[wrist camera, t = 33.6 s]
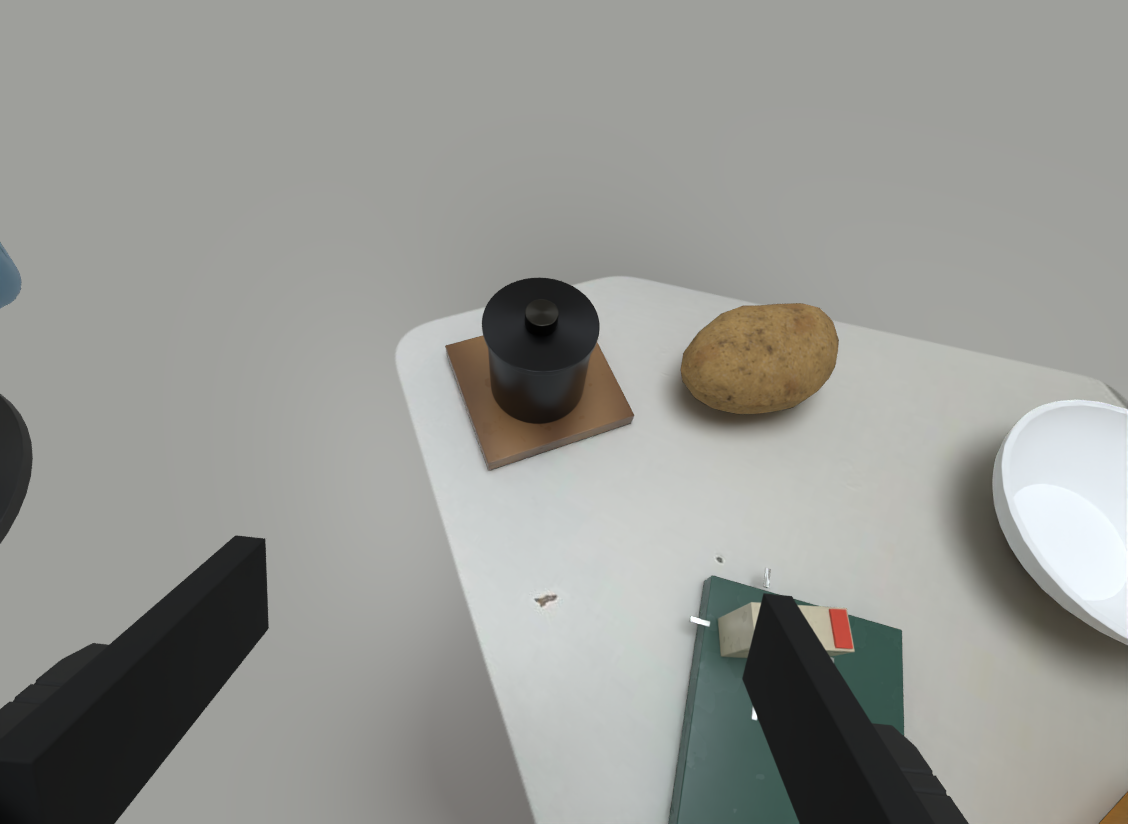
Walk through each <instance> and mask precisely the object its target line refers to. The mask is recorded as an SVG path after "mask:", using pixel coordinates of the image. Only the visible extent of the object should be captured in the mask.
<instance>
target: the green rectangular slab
mask: <svg viewBox="0 0 1128 824" xmlns="http://www.w3.org/2000/svg"><path fill="white" fill-rule="evenodd" d="M770 571H771V569H768V568H765V576H764V587H765V588H769V582H770ZM763 593H765V594H775V593H772V592H768V591H765V590H761V589H758V588H754V587H751V586H747V585H744V584H740V583H737V582H733V581H730V580H727V579H723V578H720V577H716V576H711V577H709V578H708V579H707V580H705V581H704V586H703V593H702V600H701V607H700V614H699V618H696V617H692V616H690V622H693V623H696V624H698V627H697V634H696V641H695V648H694V654H693V661H692V668H691V675H690V682H689V689H688V695H687V702H686V709H685V716H684V723H683V730H682V736H681V743H680V750H679V757H678V764H677V770H676V777H675V784H674V791H673V798H672V805H671V811H670V818H669V824H799V821H798V819H797V816H796V814H795V811H794V809H793V806H792V804H791V801H790V799H789V796H788V794H787V791H786V788H785V786H784V783H783V781H782V778H781V776H780V773H779V771H778V768H777V766H776V763H775V761H774V758H773V756H772V753H771V750H770V748H769V745H768V743H767V740H766V738H765V735H764V733H763V730H762V728H761V725H760V723H759V720H758V718H757V715H756V712H755V710H754V707H753V705H752V702H751V700H750V697H749V695H748V692H747V690H746V687H745V685H744V682H743V680H742V677H743V673H744V669H745V665H746V661H747V658H737V657H721V653H720V640H719V628H718V618H720V617H722V616H724V615H726V614H728V613H730V612H732V611H734V610H736V609H738V608H741V607H743V606H745V605H747V604H749V603H751V602H756V603H761V601H762V597H763ZM775 595H778V594H775ZM794 600H795V602H796V604H797V605H805V606H817V605H813V604H810V603H806V602H803V601H799V600H796V599H794ZM848 618H849V623H850V629H851V634H852V639H853V645H854V650H855V652H851V653H846V654H841V655H836V656H831V657H830V658H831V659H832V661H833V662H834V664H835V666H836V667H837V669H838V670H839V672H840V673H841V675H842V677H843V678H844V680H845V681H846V683H847V685H848V686H849V688H850V689H851V691H852V693H853V694H854V696H855V697H856V699H857V701H858V702H859V704H860V705H861V707H862V708H863V710H864V712H865V713H866V715H867V716H868V718H869V720H870V721H871V723H875V724H884V725H892V726H893V727H895V728H896V729H897V730H898V731H899V732H900V733H901V734H902V735H903V736H904V708H903V661H902V630H900V629H896V628H893V627H889V626H886V625H882V624H879V623H875V622H872V621H869V620H865V619H862V618H858V617H855V616H851V615H848Z"/></svg>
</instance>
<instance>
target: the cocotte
mask: <svg viewBox="0 0 1128 824" xmlns="http://www.w3.org/2000/svg"><path fill="white" fill-rule="evenodd" d="M482 331H483V336H484V340H485V342H486V345H487V346H488V354H489V367H490V380H491V390H492V394H493V396H494V399H495V401H496V402H497V404H498V405H499V406H500V408H501V409H502V410H503V411H504V412H506V413H507V414H508V415H510V416H511V417H513V418H515V419H517V420H520V421H523V422H526V423H532V424H544V423H550V422H554V421H557V420H559V419H561V418H563V417H565V416H566V415H568V414H569V413H570V412H571V411H572V410H573V409H574V408H575V407H576V406H577V404H578V403H579V401H580V399H581V397H582V393H583V389H584V384H585V379H586V374H587V369H588V364H589V360H590V355H591V353H592V351H593V350H594V348H595V346H596V343H597V340H598V336H599V319H598V315H597V312H596V310H595V308H594V306H593V304H592V303H591V302H590V300H589V299H588V298H587V297H586V296H585V295H584V294H583V293H582V292H580V291H579V290H578V289H576V288H575V287H573V286H571V285H569V284H567V283H564V282H562V281H558V280H555V279H549V278H529V279H523V280H519V281H516V282H514V283H511V284H509V285H507V286H505V287H504V288H502V289H501V290H499V291H498V292H497V293H496V294H495V295H494V296H493V297H492V298H491V299H490V301H489V302H488V304H487V306H486V308H485V310H484V313H483V318H482Z"/></svg>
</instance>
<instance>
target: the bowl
mask: <svg viewBox="0 0 1128 824" xmlns="http://www.w3.org/2000/svg"><path fill="white" fill-rule="evenodd" d="M992 486H993V499H994V506H995V510H996V513H997V517H998V521H999V524H1000V527H1001V529H1002V531H1003V533H1004V535H1005V537H1006V539H1007V542H1008V544H1009V546H1010V548H1011V549H1012V551H1013V552H1014V554H1015V555H1016V557H1017V558H1018V560H1019V561H1020V563H1021V564H1022V566H1023V567H1024V569H1025V570H1026V571H1027V572H1028V573H1029V574H1030V576H1031V577H1032V578H1033V579H1034V580H1035V581H1036V582H1037V584H1038V585H1039V586H1040V587H1041V588H1042V589H1043V590H1044V591H1045V592H1046V593H1047V594H1048V595H1050V596H1051V597H1052V598H1053V599H1054V600H1055V601H1056V602H1057V603H1059V604H1060V605H1061V606H1062V607H1063V608H1064V609H1066V610H1067V611H1069V612H1070V613H1072V614H1073V615H1075V616H1076V617H1078V618H1079V619H1081V620H1082V621H1084V622H1085V623H1087V624H1088V625H1090V626H1091V627H1093V628H1095V629H1096V630H1098V631H1099V632H1101V633H1103V634H1105V635H1107V636H1109V637H1112V638H1114V639H1116V640H1118V641H1120V642H1122V643H1124V644H1126V645H1128V409H1125V408H1121V407H1118V406H1114V405H1110V404H1107V403H1103V402H1096V401H1088V400H1062V401H1056V402H1052V403H1048V404H1045V405H1041V406H1039V407H1037V408H1035V409H1034V410H1032V411H1030V412H1029V413H1027V414H1025V415H1024V416H1023V417H1022V418H1021V419H1020V420H1019V421H1018V422H1017V423H1016V424H1015V425H1014V427H1013V428H1012V429H1011V430H1010V431H1009V432H1008V433H1007V435H1006V437H1005V439H1004V440H1003V442H1002V444H1001V447H1000V449H999V451H998V453H997V455H996V458H995V464H994V470H993V481H992Z"/></svg>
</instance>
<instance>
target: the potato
mask: <svg viewBox="0 0 1128 824" xmlns="http://www.w3.org/2000/svg"><path fill="white" fill-rule="evenodd" d="M838 342H839V339H838V336H837V333H836V330H835V327H834V324H833V322H832V320H831V319H830V318H829V317H828V316H827V315H826V314H825V313H824V312H823V311H822V310H821V309H820V308H818V307H814V306H810V305H806V304H801V303H796V304H772V305H760V306H741V307H738V308H736V309H733V310H730V311H727V312H725V313H722V314H720V315H719V316H718V317H717V318H715V319H714V320H713V321H712V322H711V323H709V324H708V325H707V326H706V327H704V328H703V329H702V330H701V331H700V332H698V334H697V335H696V336H695V338H694V339H693V341H692V342H691V343H690V345H689V346H688V347H687V349H686V350H685V351H684V353H683V359H682V365H681V374H682V381H683V382H684V384H685V385H686V386H687V388H688V389H689V390H690V392H691V393H692V395H693V396H694V397H695V398H696V399H698V400H699V401H701V402H703V403H704V404H706V405H708V406H709V407H711V408H714V409H717V410H722V411H726V412H731V413H736V414H758V413H766V412H774V411H779V410H784V409H788V408H792V407H794V406H796V405H797V404H799V403H801V402H802V401H804V400H805V399H807V398H808V397H810V396H811V395H813V394H814V393H815V392H817V391H818V390H819V389H820V388H821V387H822V386H823V384H824V383H825V382H826V381H827V380H828V379H829V377H830V375H831V374H832V372H833V370H834V368H835V364H836V358H837V353H838Z"/></svg>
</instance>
